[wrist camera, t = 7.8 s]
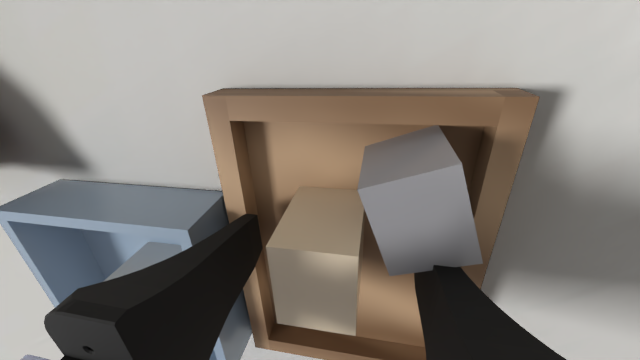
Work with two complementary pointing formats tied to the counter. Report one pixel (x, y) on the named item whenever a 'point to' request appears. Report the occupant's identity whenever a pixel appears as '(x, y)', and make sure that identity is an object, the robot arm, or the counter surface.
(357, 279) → the cream cube
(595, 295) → the counter surface
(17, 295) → the counter surface
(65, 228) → the dish
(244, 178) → the tray
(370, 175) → the matte stone cube
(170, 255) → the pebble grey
